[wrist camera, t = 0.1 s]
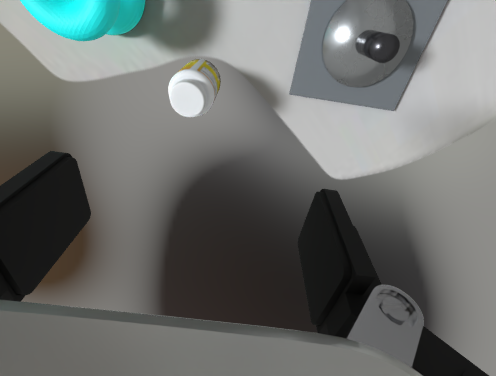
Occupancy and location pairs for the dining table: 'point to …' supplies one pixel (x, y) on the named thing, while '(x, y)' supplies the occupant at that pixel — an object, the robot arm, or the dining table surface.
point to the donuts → (86, 16)
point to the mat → (375, 95)
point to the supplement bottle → (194, 88)
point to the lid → (366, 40)
